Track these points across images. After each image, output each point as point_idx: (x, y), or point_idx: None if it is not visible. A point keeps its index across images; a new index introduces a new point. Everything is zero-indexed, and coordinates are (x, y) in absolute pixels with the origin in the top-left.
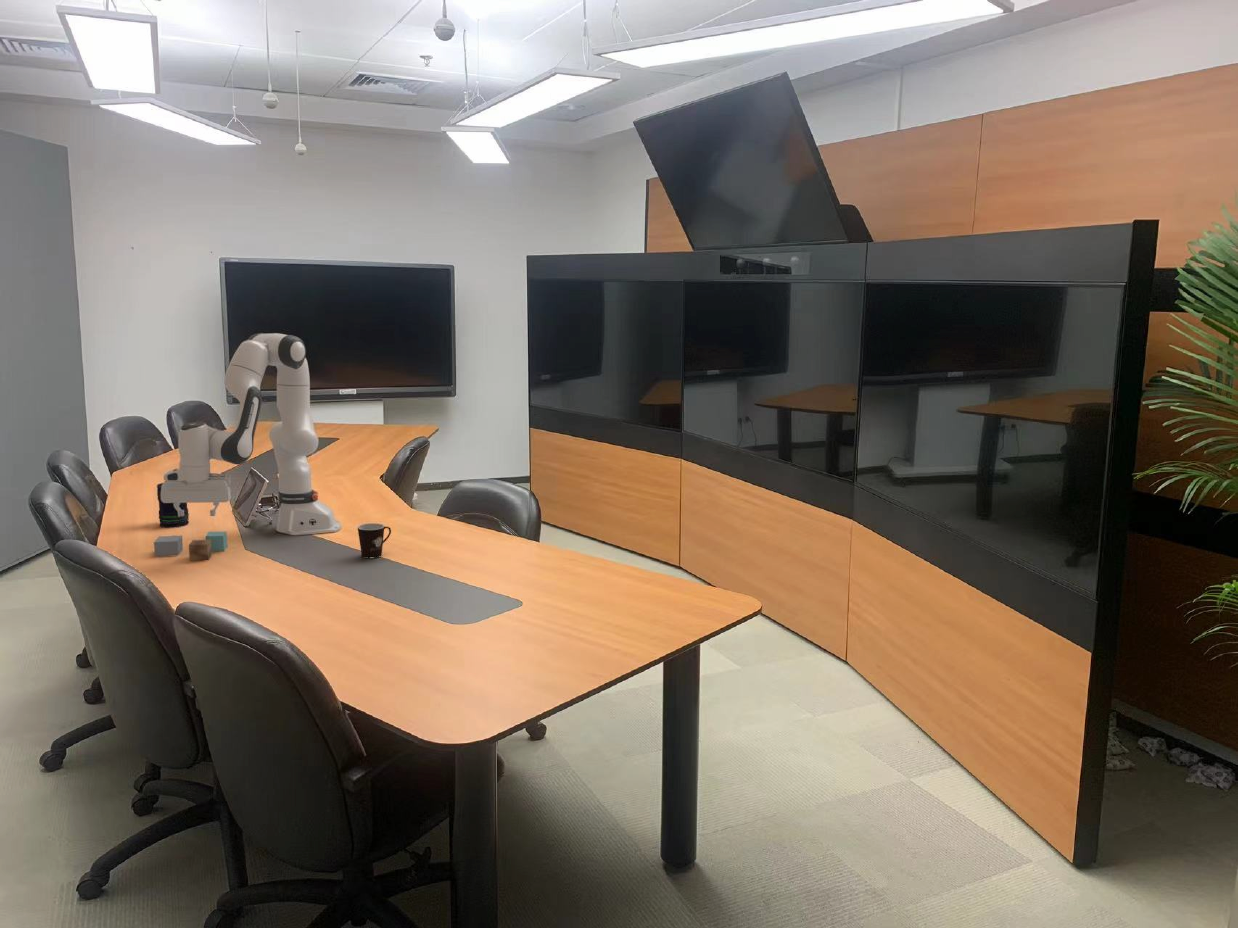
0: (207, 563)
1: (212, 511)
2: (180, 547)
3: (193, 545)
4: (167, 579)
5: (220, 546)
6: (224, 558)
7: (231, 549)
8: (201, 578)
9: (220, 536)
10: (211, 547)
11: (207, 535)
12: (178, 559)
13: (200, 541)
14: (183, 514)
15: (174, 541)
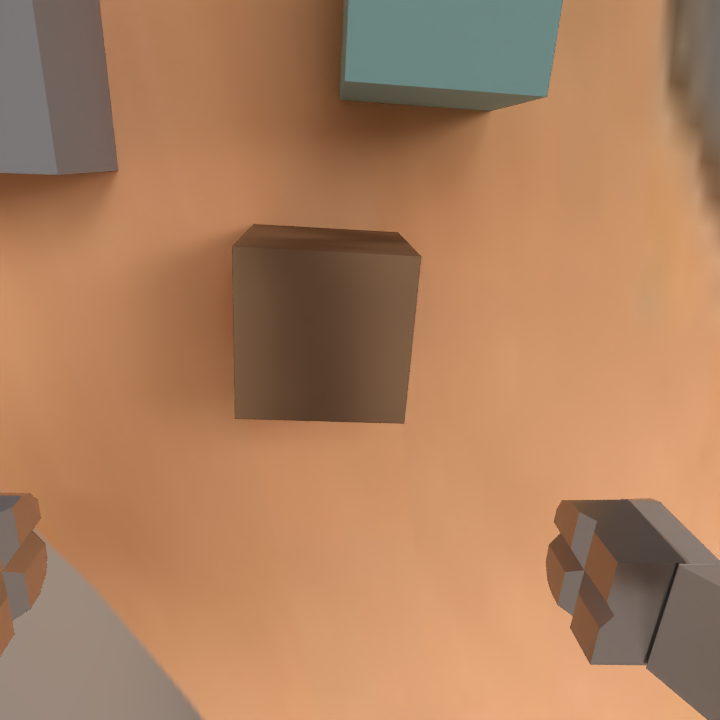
0: (389, 430)
1: (635, 652)
2: (85, 49)
3: (280, 418)
4: (209, 680)
5: (473, 105)
6: (498, 330)
7: None
8: (390, 684)
9: (512, 95)
10: (390, 100)
11: (364, 46)
12: (154, 295)
13: (325, 308)
14: (23, 539)
15: (24, 172)
